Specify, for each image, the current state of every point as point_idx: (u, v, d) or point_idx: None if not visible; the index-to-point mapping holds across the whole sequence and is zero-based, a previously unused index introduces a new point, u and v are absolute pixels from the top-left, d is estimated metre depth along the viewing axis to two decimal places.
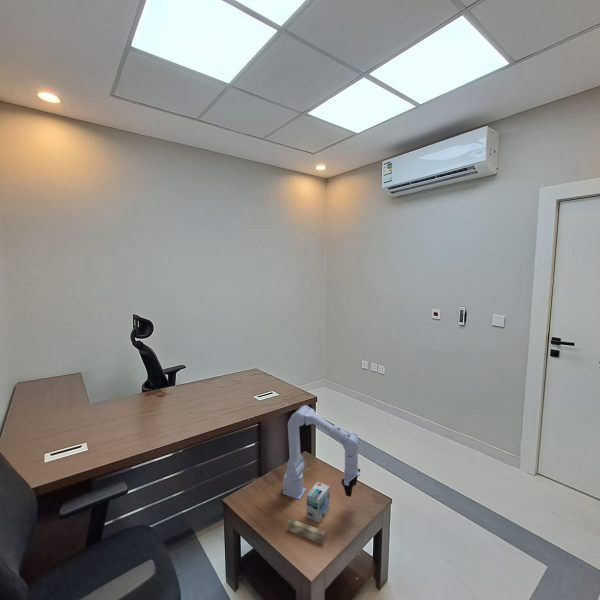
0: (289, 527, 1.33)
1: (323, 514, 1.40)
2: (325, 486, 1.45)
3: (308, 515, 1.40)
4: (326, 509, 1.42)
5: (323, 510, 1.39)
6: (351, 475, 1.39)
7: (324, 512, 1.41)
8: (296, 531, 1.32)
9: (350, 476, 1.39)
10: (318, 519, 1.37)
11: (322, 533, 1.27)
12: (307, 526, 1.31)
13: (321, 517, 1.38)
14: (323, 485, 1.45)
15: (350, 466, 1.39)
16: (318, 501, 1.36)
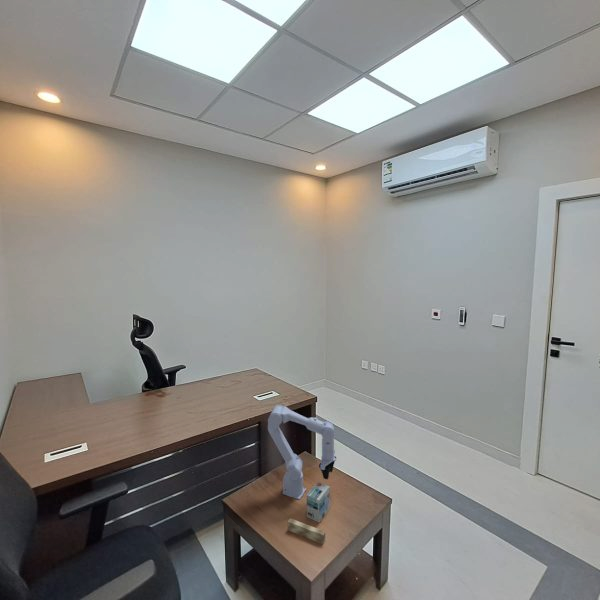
0: (289, 527, 1.33)
1: (323, 514, 1.40)
2: (325, 486, 1.45)
3: (308, 515, 1.40)
4: (326, 509, 1.42)
5: (323, 510, 1.39)
6: (327, 460, 1.49)
7: (324, 512, 1.41)
8: (296, 531, 1.32)
9: (326, 461, 1.49)
10: (318, 519, 1.37)
11: (322, 533, 1.27)
12: (307, 526, 1.31)
13: (321, 517, 1.38)
14: (323, 485, 1.45)
15: (326, 452, 1.49)
16: (318, 501, 1.36)
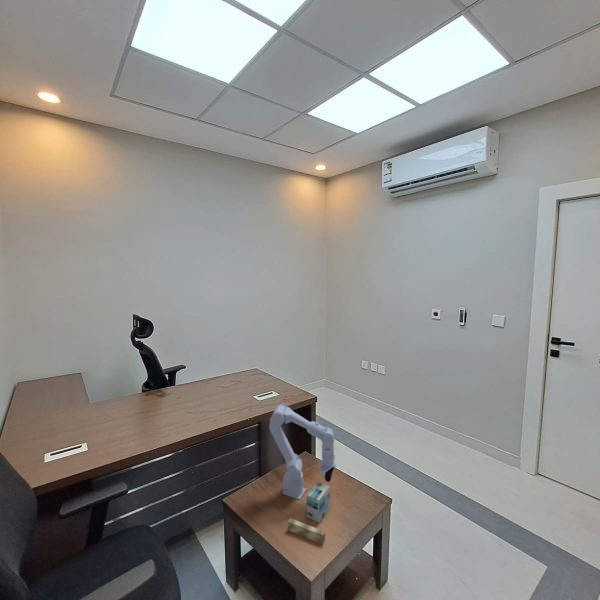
0: (289, 527, 1.33)
1: (323, 514, 1.40)
2: (325, 486, 1.45)
3: (308, 515, 1.40)
4: (326, 509, 1.42)
5: (323, 510, 1.39)
6: (327, 466, 1.49)
7: (324, 512, 1.41)
8: (296, 531, 1.32)
9: (326, 467, 1.49)
10: (318, 519, 1.37)
11: (322, 533, 1.27)
12: (307, 526, 1.31)
13: (321, 517, 1.38)
14: (323, 485, 1.45)
15: (326, 458, 1.49)
16: (318, 501, 1.36)
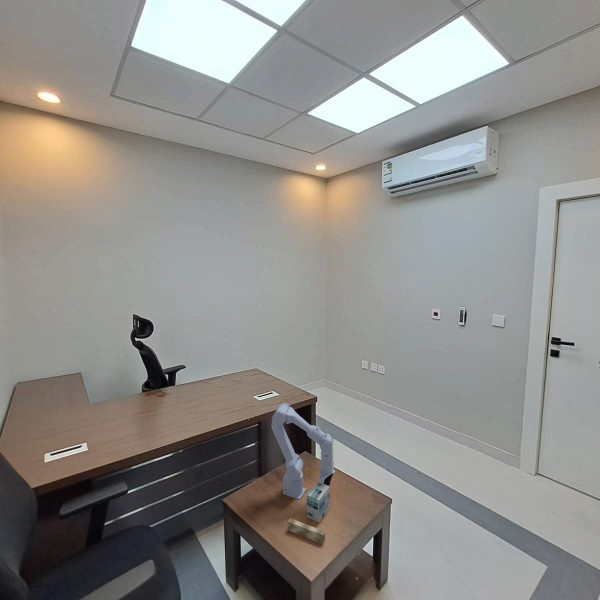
0: (289, 527, 1.33)
1: (323, 514, 1.40)
2: (325, 486, 1.45)
3: (308, 515, 1.40)
4: (326, 509, 1.42)
5: (323, 510, 1.39)
6: (326, 473, 1.48)
7: (324, 512, 1.41)
8: (296, 531, 1.32)
9: (325, 474, 1.48)
10: (318, 519, 1.37)
11: (322, 533, 1.27)
12: (307, 526, 1.31)
13: (321, 517, 1.38)
14: (323, 485, 1.45)
15: (325, 465, 1.48)
16: (318, 501, 1.36)
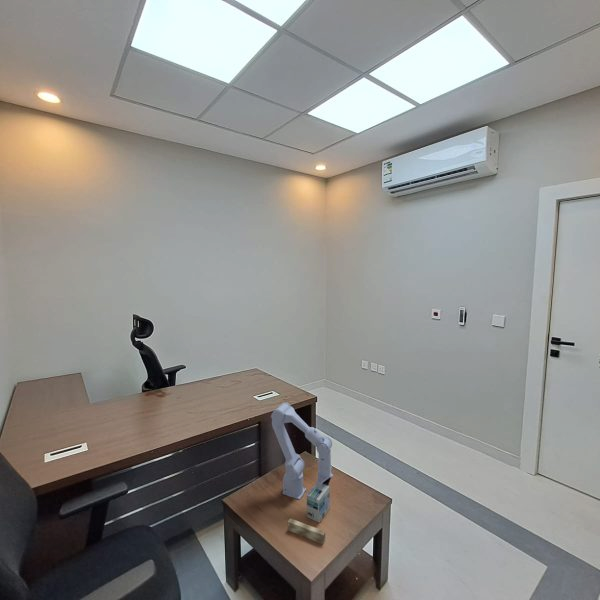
0: (289, 527, 1.33)
1: (323, 514, 1.40)
2: (325, 486, 1.45)
3: (308, 515, 1.40)
4: (326, 509, 1.42)
5: (323, 510, 1.39)
6: (324, 477, 1.46)
7: (324, 512, 1.41)
8: (296, 531, 1.32)
9: (323, 478, 1.45)
10: (318, 519, 1.37)
11: (322, 533, 1.27)
12: (307, 526, 1.31)
13: (321, 517, 1.38)
14: (323, 485, 1.45)
15: (323, 468, 1.45)
16: (318, 501, 1.36)
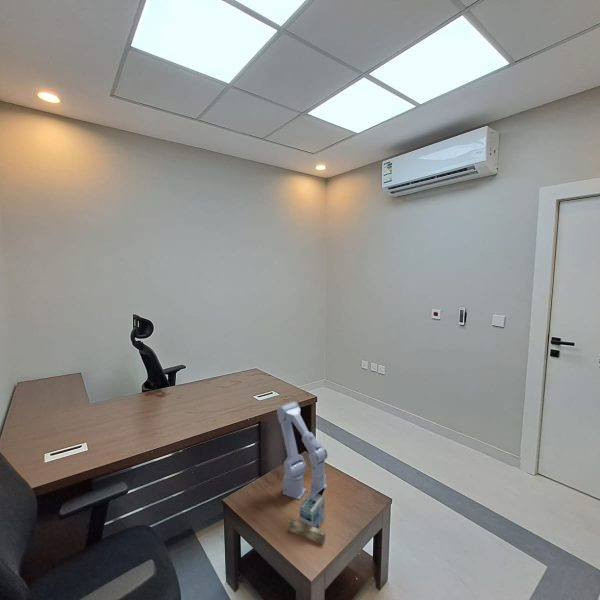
0: (289, 527, 1.33)
1: (317, 526, 1.34)
2: (319, 496, 1.38)
3: None
4: (320, 520, 1.36)
5: (317, 521, 1.33)
6: (317, 488, 1.39)
7: (318, 524, 1.35)
8: (296, 531, 1.32)
9: (316, 489, 1.38)
10: None
11: (322, 533, 1.27)
12: (307, 526, 1.31)
13: None
14: (317, 495, 1.39)
15: (316, 479, 1.38)
16: (312, 512, 1.30)
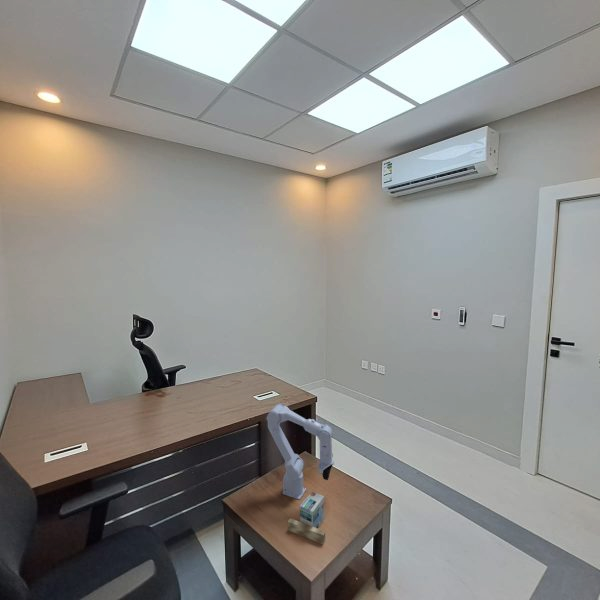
0: (289, 527, 1.33)
1: (317, 526, 1.34)
2: (319, 496, 1.38)
3: None
4: (320, 520, 1.36)
5: (317, 521, 1.33)
6: (325, 464, 1.46)
7: (318, 524, 1.35)
8: (296, 531, 1.32)
9: (324, 465, 1.46)
10: None
11: (322, 533, 1.27)
12: (307, 526, 1.31)
13: None
14: (317, 495, 1.39)
15: (324, 455, 1.46)
16: (312, 512, 1.30)
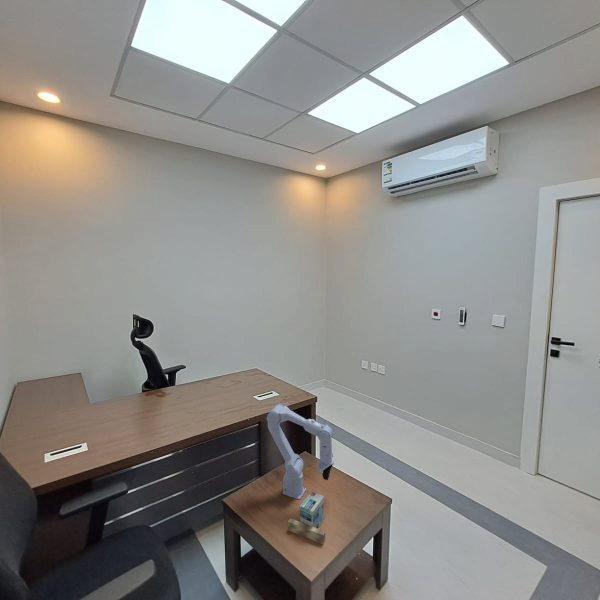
0: (289, 527, 1.33)
1: (317, 526, 1.34)
2: (319, 496, 1.38)
3: None
4: (320, 520, 1.36)
5: (317, 521, 1.33)
6: (325, 464, 1.46)
7: (318, 524, 1.35)
8: (296, 531, 1.32)
9: (324, 465, 1.46)
10: None
11: (322, 533, 1.27)
12: (307, 526, 1.31)
13: None
14: (317, 495, 1.39)
15: (324, 455, 1.46)
16: (312, 512, 1.30)
